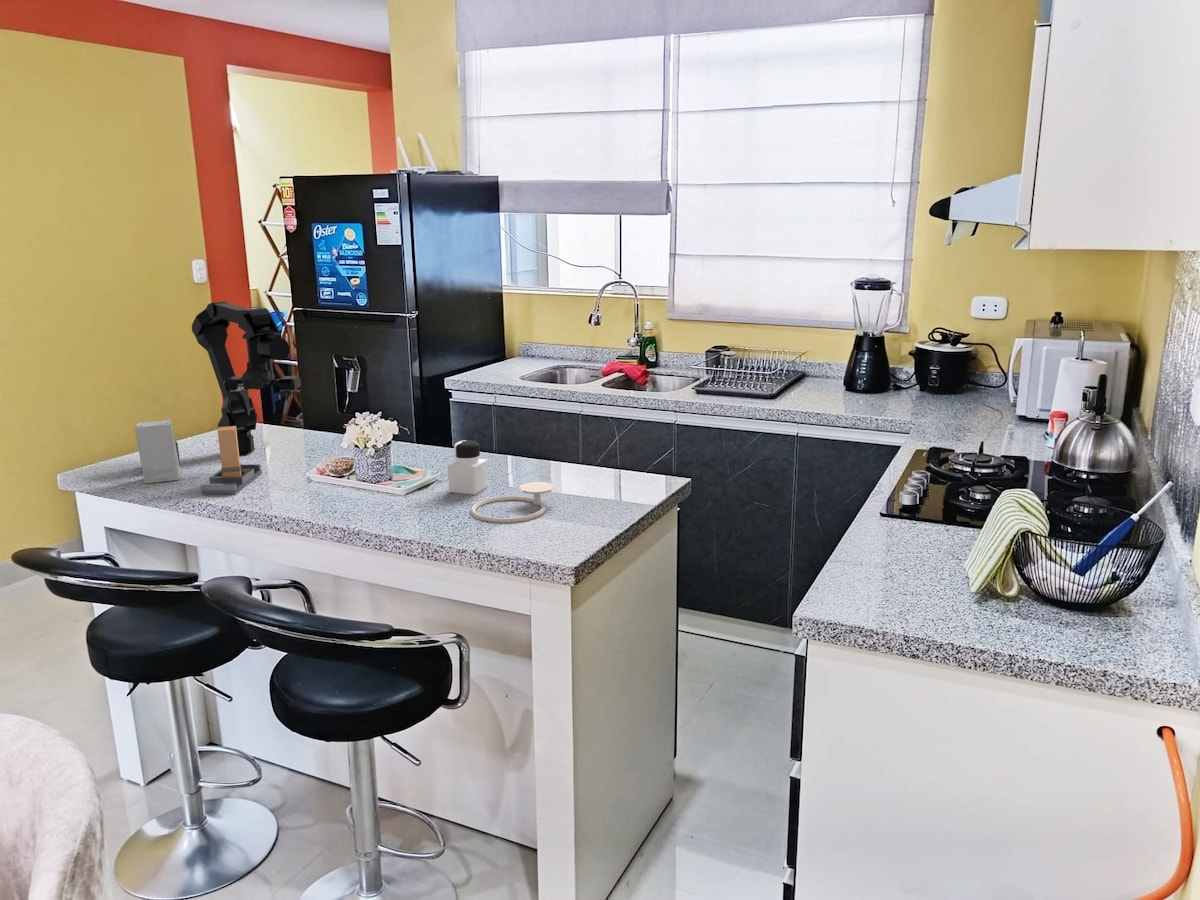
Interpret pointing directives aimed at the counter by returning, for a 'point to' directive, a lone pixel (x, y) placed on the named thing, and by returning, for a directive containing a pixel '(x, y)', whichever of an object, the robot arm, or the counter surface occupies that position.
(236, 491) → the dark grey holder base
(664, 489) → the counter surface
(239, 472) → the tan tall block
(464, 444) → the medicine bottle
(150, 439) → the skincare box
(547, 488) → the hand towel holder
